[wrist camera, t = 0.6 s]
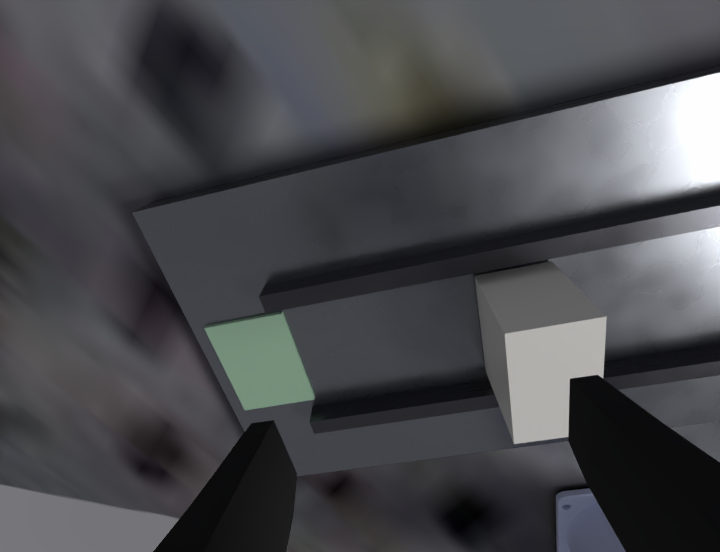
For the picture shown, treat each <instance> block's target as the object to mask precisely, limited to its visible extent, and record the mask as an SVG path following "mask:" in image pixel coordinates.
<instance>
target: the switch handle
mask: <svg viewBox="0 0 720 552" xmlns="http://www.w3.org/2000/svg"><path fill="white" fill-rule="evenodd" d="M475 284H476V293H477V301H478V310H479V318H480V327H481V335H482V344H483V352H484V361H485V370H486V373H487V376H488V378H489V381H490V383H491V386H492V389H493V391H494V394H495V396H496V399H497V402H498V404H499V407H500V409H501V412H502V414H503V417H504V420H505V422H506V425H507V427H508V430H509V432H510V435H511V438H512V440H513V443H514V444H519V443H526V442H534V441H542V440H549V439H557V438H564V437H568V432H569V391H570V379H571V378H578V377H585V376H592V375H599V376H600V377H602V378H603V375H604V357H605V338H606V320H607V316H606V315H605V314H604V313H603V312H602V311H601V310H600V309H599V308H598V307H597V306H596V305H595V304H594V303H593V302H592V301H591V300H590V299H589V298H588V297H587V296H586V295H585V294H584V293H583V292H582V291H581V290H580V289H579V288H578V287H577V286H576V285H575V284H574V283H573V282H572V281H571V280H570V279H569V278H568V277H567V276H566V275H565V274H564V273H563V272H562V271H561V270H560V269H559V268H558V267H557V266H556V265H555V264H554V263H553V262H552V261H550V262H545V263H540V264H535V265H529V266H524V267H519V268H514V269H508V270H503V271H498V272H493V273H487V274H482V275H477V276H475Z"/></svg>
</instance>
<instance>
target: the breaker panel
mask: <svg viewBox="0 0 720 552" xmlns="http://www.w3.org/2000/svg"><path fill="white" fill-rule="evenodd" d="M132 214H133V216H134V218H135V220H136V222H137V224H138V225H139V227H140V229H141V231H142V233H143V235H144V237H145V239H146V241H147V243H148V245H149V247H150V249H151V251H152V253H153V255H154V257H155V259H156V261H157V262H158V264H159V266H160V268H161V270H162V272H163V274H164V276H165V278H166V280H167V282H168V284H169V286H170V288H171V290H172V292H173V294H174V296H175V298H176V299H177V301H178V303H179V305H180V307H181V309H182V311H183V313H184V315H185V317H186V319H187V321H188V323H189V325H190V327H191V329H192V331H193V333H194V334H195V336H196V338H197V340H198V342H199V344H200V346H201V348H202V350H203V352H204V354H205V356H206V358H207V360H208V362H209V364H210V366H211V368H212V370H213V371H214V373H215V375H216V377H217V379H218V381H219V383H220V385H221V387H222V389H223V391H224V393H225V395H226V397H227V399H228V401H229V403H230V405H231V407H232V408H233V410H234V412H235V414H236V416H237V418H238V420H239V422H240V424H241V426H242V428H243V430H244V432H245V431H246V430H247V428H248V427H249V426H250V424H251V423H257V422H264V421H271V420H274V422H275V424H276V426H277V429H278V431H279V433H280V436H281V438H282V440H283V442H284V445H285V447H286V449H287V452H288V454H289V456H290V458H291V461H292V463H293V465H294V468H295V470H296V472H297V476H304V475H311V474H319V473H326V472H334V471H342V470H349V469H357V468H365V467H372V466H380V465H388V464H395V463H403V462H411V461H418V460H426V459H434V458H441V457H449V456H456V455H464V454H472V453H479V452H487V451H495V450H502V449H510V448H518V447H525V446H533V445H541V444H548V443H556V442H564V441H568V437H564V438H557V439H549V440H542V441H534V442H526V443H519V444H514V443H513V440H512V438H511V435H510V432H509V430H508V427H507V425H506V422H505V420H504V417H503V414H502V412H501V409H500V407H499V404H498V402H497V399H496V396H495V394H494V391H493V389H492V386H491V383H490V381H489V378H488V376H487V373H486V370H485V361H484V352H483V344H482V335H481V327H480V318H479V310H478V301H477V293H476V284H475V276H477V275H482V274H487V273H493V272H498V271H503V270H508V269H514V268H519V267H524V266H529V265H535V264H540V263H545V262H550V261H552V262H553V263H554V264H555V265H556V266H557V267H558V268H559V269H560V270H561V271H562V272H563V273H564V274H565V275H566V276H567V277H568V278H569V279H570V280H571V281H572V282H573V283H574V284H575V285H576V286H577V287H578V288H579V289H580V290H581V291H582V292H583V293H584V294H585V295H586V296H587V297H588V298H589V299H590V300H591V301H592V302H593V303H594V304H595V305H596V306H597V307H598V308H599V309H600V310H601V311H602V312H603V313H604V314H605V315H606V316H607V320H606V338H605V357H604V375H603V379H604V380H606V381H607V382H608V383H610V384H611V385H612V386H614V387H615V388H616V389H618V390H619V391H621V392H622V393H623V394H625V395H626V396H627V397H629V398H630V399H631V400H633V401H634V402H635V403H637V404H638V405H639V406H641V407H642V408H643V409H645V410H646V411H647V412H649V413H650V414H652V415H653V416H654V417H656V418H657V419H658V420H660V421H661V422H662V423H664V424H665V425H667V426H668V427H669V428H671V427H678V426H686V425H694V424H701V423H709V422H716V421H720V65H718V66H714V67H710V68H706V69H702V70H698V71H693V72H689V73H685V74H681V75H677V76H673V77H669V78H664V79H660V80H656V81H652V82H648V83H644V84H639V85H635V86H631V87H627V88H623V89H619V90H615V91H610V92H606V93H602V94H598V95H594V96H590V97H585V98H581V99H577V100H573V101H569V102H565V103H561V104H556V105H552V106H548V107H544V108H540V109H536V110H531V111H527V112H523V113H519V114H515V115H511V116H507V117H502V118H498V119H494V120H490V121H486V122H482V123H477V124H473V125H469V126H465V127H461V128H457V129H453V130H448V131H444V132H440V133H436V134H432V135H428V136H423V137H419V138H415V139H411V140H407V141H403V142H399V143H394V144H390V145H386V146H382V147H378V148H374V149H369V150H365V151H361V152H357V153H353V154H349V155H345V156H340V157H336V158H332V159H328V160H324V161H320V162H315V163H311V164H307V165H303V166H299V167H295V168H291V169H286V170H282V171H278V172H274V173H270V174H266V175H261V176H257V177H253V178H249V179H245V180H241V181H237V182H232V183H228V184H224V185H220V186H216V187H212V188H207V189H203V190H199V191H195V192H191V193H187V194H183V195H178V196H174V197H170V198H166V199H162V200H158V201H153V202H151V203H149V204H147V205H145V206H143V207H141V208H140V209H138V210H136V211H134V212H132Z"/></svg>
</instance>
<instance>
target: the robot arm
mask: <svg viewBox="0 0 720 552" xmlns="http://www.w3.org/2000/svg"><path fill="white" fill-rule="evenodd" d="M568 441H569V443H570V446H571V448H572V450H573V453H574V455H575V457H576V460H577V462H578V464H579V467H580V469H581V471H582V473H583V475H584V478H585V480H586V482H587V484H588V486H589V488H586V489H578V490H569V491H562V492H559V493H558V494H557V495H556V540H557V552H720V462H718V461H717V460H715V459H714V458H712V457H711V456H709V455H708V454H706V453H705V452H704V451H702V450H701V449H699V448H698V447H696V446H695V445H694V444H692V443H691V442H689V441H688V440H686V439H685V438H684V437H682V436H681V435H679V434H678V433H676V432H675V431H674V430H672V429H671V428H669V427H668V426H667V425H665V424H664V423H662V422H661V421H660V420H658V419H657V418H656V417H654V416H653V415H652V414H650V413H649V412H647V411H646V410H645V409H643V408H642V407H641V406H639V405H638V404H637V403H635V402H634V401H633V400H631V399H630V398H629V397H627V396H626V395H625V394H623V393H622V392H621V391H619V390H618V389H616V388H615V387H614V386H612V385H611V384H610V383H608V382H607V381H606V380H604V379H603V378H602V377H600V376H599V375H592V376H585V377H578V378H571V379H570V391H569V432H568ZM296 479H297V472H296V470H295V468H294V465H293V463H292V461H291V458H290V456H289V454H288V452H287V449H286V447H285V445H284V442H283V440H282V438H281V436H280V433H279V431H278V429H277V426H276V424H275V422H274V420H271V421H264V422H257V423H251V424H250V426H249V427H248V428H247V430H246V431H245V432H244V434H243V435H242V436H241V438H240V439H239V440H238V442H237V443H236V445H235V446H234V447H233V449H232V450H231V451H230V453H229V454H228V456H227V457H226V458H225V460H224V461H223V462H222V464H221V465H220V467H219V468H218V469H217V471H216V472H215V473H214V475H213V476H212V477H211V479H210V480H209V481H208V483H207V484H206V485H205V487H204V488H203V489H202V491H201V492H200V493H199V495H198V496H197V497H196V499H195V500H194V501H193V503H192V504H191V505H190V507H189V508H188V509H187V511H186V512H185V513H184V514H183V516H182V517H181V518H180V519H179V520H178V522H177V523H176V524H175V525H174V527H173V528H172V529H171V530H170V532H169V533H168V534H167V535H166V537H165V538H164V539H163V540H162V542H161V543H160V544H159V545H158V547H157V548H156V549H155V550H154V551H153V552H286V549H287V544H288V539H289V534H290V529H291V524H292V519H293V511H294V502H295V491H296Z"/></svg>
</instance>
